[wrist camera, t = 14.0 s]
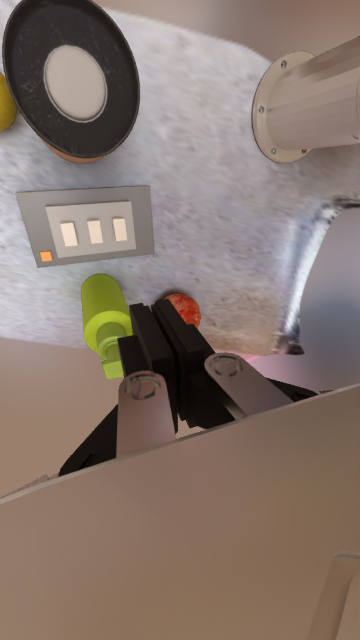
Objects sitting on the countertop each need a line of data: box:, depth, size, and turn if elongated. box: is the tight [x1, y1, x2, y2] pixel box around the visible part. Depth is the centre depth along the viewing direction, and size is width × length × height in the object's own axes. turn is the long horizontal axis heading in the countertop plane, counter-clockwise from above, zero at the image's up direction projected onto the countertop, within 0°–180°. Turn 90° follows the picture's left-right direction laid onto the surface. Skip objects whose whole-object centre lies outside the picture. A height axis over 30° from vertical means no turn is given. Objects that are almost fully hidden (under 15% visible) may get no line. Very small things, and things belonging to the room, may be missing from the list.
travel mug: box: [2, 0, 140, 163], centre depth 24 cm, size 8×8×20 cm
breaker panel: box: [15, 185, 155, 268], centre depth 35 cm, size 16×9×6 cm, turn 92°
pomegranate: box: [164, 293, 201, 328], centre depth 45 cm, size 7×7×10 cm
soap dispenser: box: [81, 274, 133, 380], centre depth 34 cm, size 6×7×20 cm
